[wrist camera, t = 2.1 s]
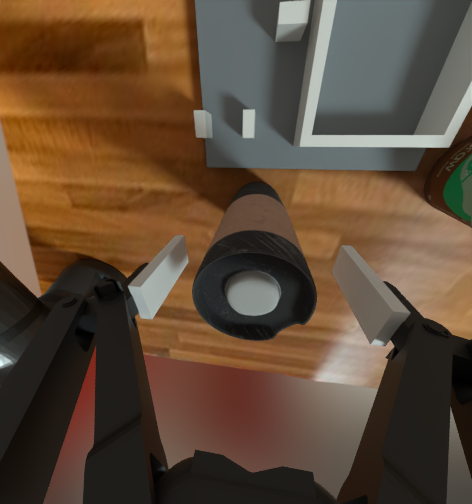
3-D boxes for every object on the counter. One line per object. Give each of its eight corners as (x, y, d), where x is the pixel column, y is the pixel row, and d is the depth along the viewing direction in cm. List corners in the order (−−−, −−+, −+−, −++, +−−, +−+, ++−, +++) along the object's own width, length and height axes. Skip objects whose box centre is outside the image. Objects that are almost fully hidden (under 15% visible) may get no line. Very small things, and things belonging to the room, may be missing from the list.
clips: (203, 138, 22) (196, 137, 20) (187, -66, 15) (172, -109, 12) (287, 138, 21) (291, 137, 19) (316, -79, 14) (328, -130, 11)
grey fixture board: (209, 166, 25) (206, 167, 24) (194, -74, 16) (188, -95, 14) (406, 169, 23) (415, 171, 22) (534, -112, 13) (566, -141, 12)
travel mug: (231, 179, 26) (180, 244, 9) (284, 180, 25) (338, 253, 8) (232, 227, 30) (196, 336, 13) (278, 229, 29) (304, 348, 12)
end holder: (293, 146, 22) (299, 146, 18) (322, -54, 14) (341, -114, 11) (417, 147, 20) (449, 147, 17) (518, -72, 13) (608, -147, 10)
